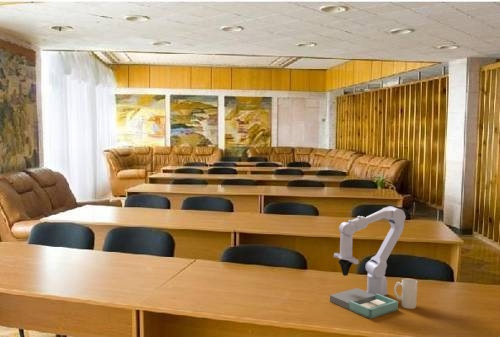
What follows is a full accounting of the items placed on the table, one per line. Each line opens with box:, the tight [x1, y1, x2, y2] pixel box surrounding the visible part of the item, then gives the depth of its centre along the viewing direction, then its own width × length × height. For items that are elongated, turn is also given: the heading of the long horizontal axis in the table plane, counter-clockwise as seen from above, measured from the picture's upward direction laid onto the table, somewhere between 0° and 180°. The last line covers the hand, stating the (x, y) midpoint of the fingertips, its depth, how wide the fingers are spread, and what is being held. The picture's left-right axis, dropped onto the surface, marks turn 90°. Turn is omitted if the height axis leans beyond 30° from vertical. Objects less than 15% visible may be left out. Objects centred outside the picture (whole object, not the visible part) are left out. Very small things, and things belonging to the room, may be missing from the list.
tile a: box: [370, 299, 386, 307], centre depth 214 cm, size 5×5×2 cm
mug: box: [393, 277, 418, 310], centre depth 216 cm, size 10×7×12 cm, turn 71°
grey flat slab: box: [329, 287, 375, 311], centre depth 222 cm, size 18×12×3 cm, turn 124°
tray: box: [348, 293, 399, 320], centre depth 212 cm, size 18×12×4 cm
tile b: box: [360, 303, 376, 309], centre depth 210 cm, size 5×5×2 cm
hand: (345, 275), depth 228 cm, fingers closed
